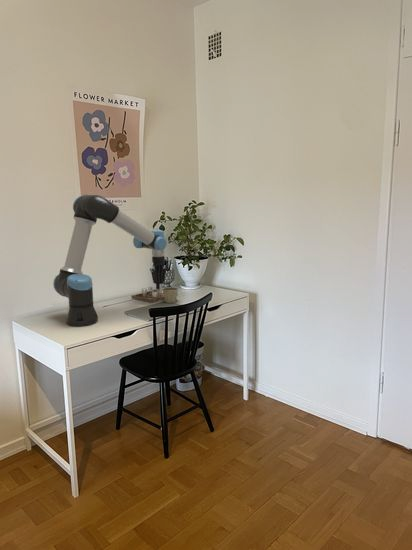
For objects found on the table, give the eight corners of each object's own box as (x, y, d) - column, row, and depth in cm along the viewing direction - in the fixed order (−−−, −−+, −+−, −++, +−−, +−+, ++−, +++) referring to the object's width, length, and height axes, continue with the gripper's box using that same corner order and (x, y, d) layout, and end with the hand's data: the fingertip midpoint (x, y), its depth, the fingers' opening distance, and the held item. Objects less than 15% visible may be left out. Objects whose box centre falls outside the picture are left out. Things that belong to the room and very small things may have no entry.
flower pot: (159, 303, 246) (158, 288, 245) (172, 300, 253) (171, 286, 251) (168, 306, 239) (168, 291, 238) (181, 303, 246) (181, 288, 244)
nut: (157, 298, 253) (157, 294, 252) (150, 297, 254) (150, 293, 254) (161, 296, 257) (161, 292, 257) (154, 295, 259) (154, 291, 258)
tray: (152, 304, 243) (151, 299, 242) (131, 300, 253) (131, 295, 252) (177, 297, 260) (177, 292, 259) (157, 293, 270) (157, 289, 269)
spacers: (155, 301, 246) (154, 293, 245) (137, 297, 254) (137, 289, 253) (174, 295, 259) (174, 287, 258) (157, 292, 268) (157, 284, 267)
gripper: (155, 257, 246) (156, 297, 251) (170, 255, 256) (171, 292, 261) (146, 256, 251) (147, 295, 255) (161, 254, 261) (162, 291, 265)
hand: (159, 294), depth 258 cm, fingers closed
